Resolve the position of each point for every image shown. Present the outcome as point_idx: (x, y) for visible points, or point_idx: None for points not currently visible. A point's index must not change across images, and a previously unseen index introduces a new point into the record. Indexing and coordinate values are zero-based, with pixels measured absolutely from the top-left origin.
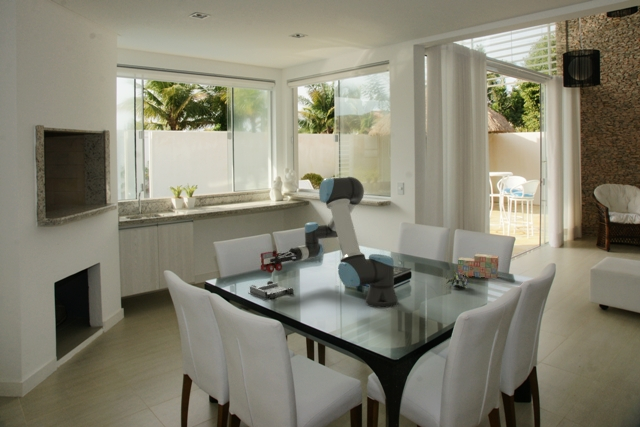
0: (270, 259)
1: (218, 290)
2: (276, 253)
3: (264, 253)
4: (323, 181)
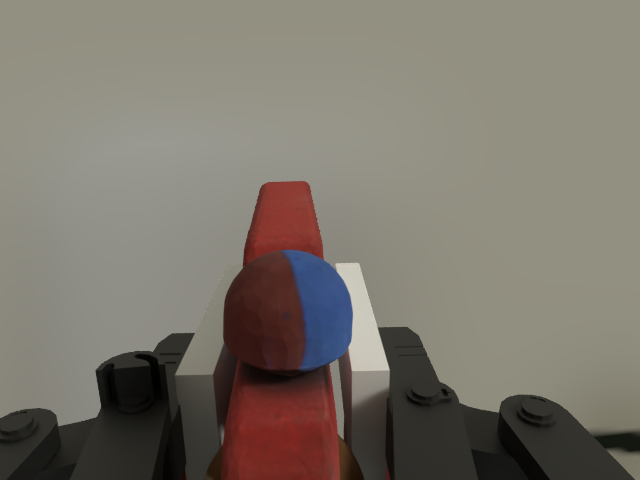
0: (193, 333)
1: (634, 452)
2: (250, 384)
3: (259, 191)
4: None
